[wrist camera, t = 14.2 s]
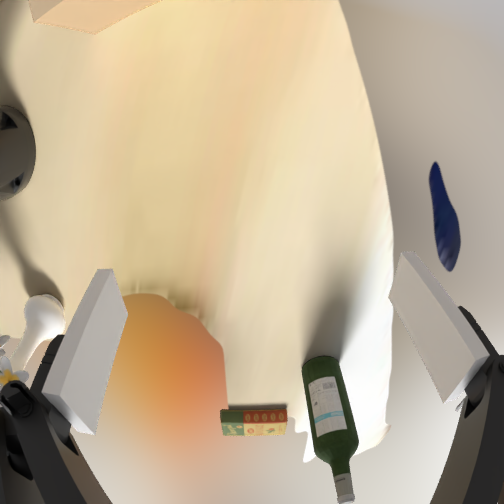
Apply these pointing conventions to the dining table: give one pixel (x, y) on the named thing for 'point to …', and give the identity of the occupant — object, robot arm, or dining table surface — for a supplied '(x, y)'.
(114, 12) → the kraft box
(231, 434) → the carton
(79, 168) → the dining table surface
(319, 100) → the dining table surface
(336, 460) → the wine bottle
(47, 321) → the flower vase
